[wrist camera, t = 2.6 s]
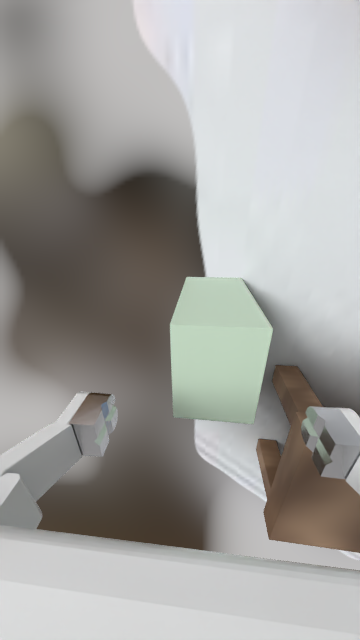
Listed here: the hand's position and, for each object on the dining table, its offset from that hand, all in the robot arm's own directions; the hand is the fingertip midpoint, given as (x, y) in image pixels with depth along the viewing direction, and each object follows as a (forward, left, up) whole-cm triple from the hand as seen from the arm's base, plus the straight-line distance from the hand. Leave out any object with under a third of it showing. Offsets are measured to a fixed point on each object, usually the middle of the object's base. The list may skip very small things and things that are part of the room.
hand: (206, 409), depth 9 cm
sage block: (-1, 0, -11) cm, 11 cm away
